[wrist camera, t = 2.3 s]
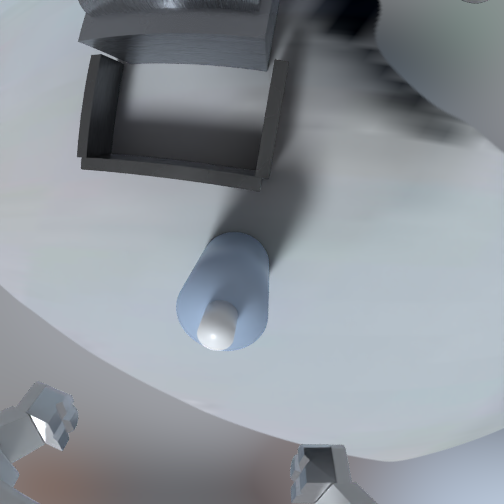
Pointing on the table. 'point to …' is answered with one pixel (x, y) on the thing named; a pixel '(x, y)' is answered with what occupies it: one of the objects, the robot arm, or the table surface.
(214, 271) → the light blue bottle
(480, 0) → the pill bottle
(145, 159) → the dark grey piece
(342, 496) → the robot arm
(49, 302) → the table surface
